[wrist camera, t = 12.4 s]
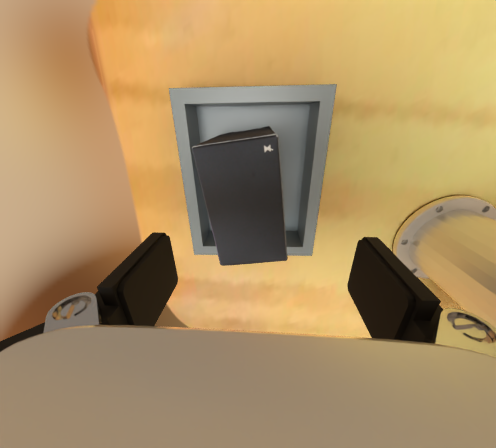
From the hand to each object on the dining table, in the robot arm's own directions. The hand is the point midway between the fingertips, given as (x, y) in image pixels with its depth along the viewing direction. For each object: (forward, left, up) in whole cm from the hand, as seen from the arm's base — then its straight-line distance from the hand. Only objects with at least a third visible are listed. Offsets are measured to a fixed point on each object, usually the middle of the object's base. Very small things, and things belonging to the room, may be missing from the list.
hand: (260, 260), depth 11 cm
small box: (+1, 0, -17) cm, 17 cm away
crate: (+1, 0, -18) cm, 18 cm away
